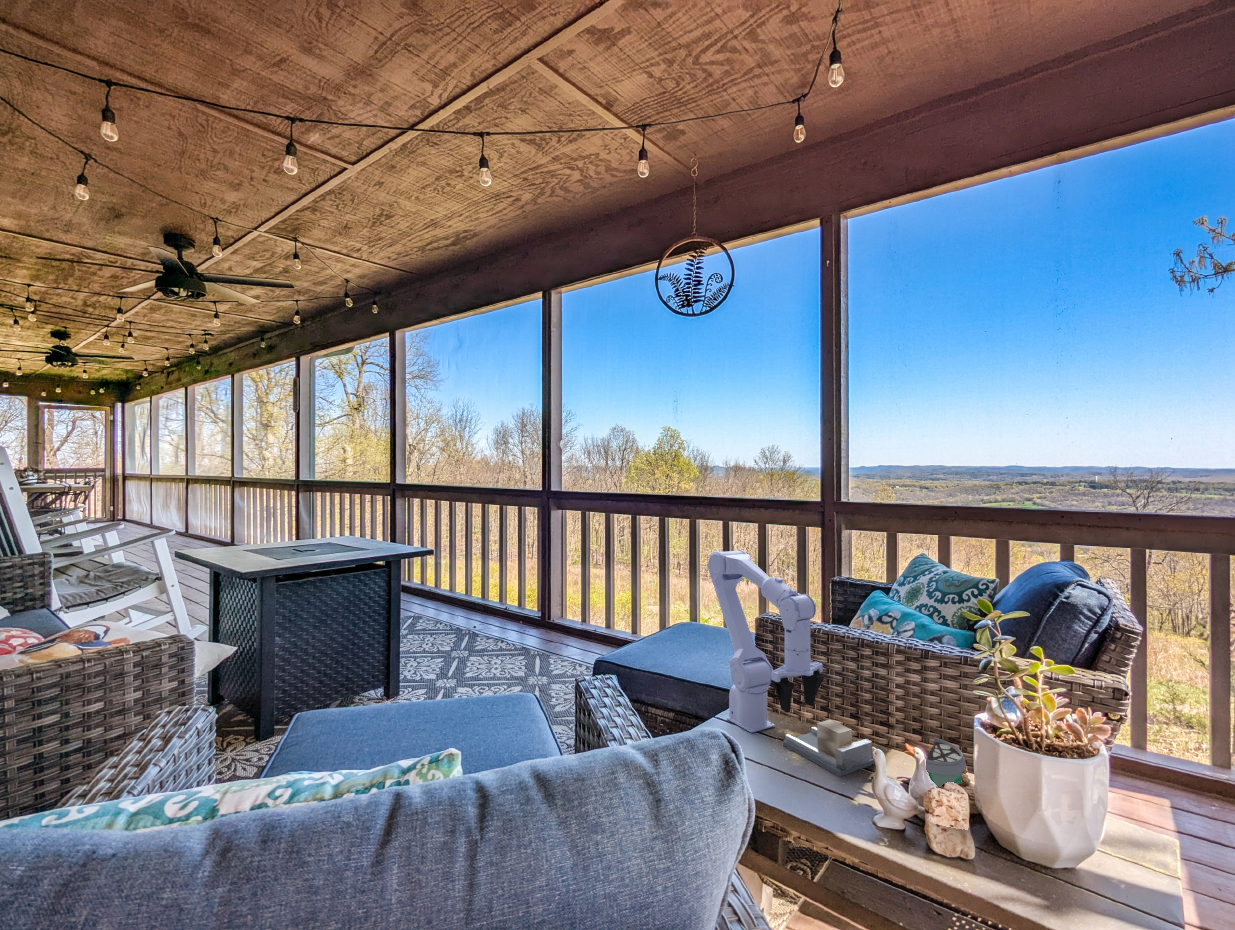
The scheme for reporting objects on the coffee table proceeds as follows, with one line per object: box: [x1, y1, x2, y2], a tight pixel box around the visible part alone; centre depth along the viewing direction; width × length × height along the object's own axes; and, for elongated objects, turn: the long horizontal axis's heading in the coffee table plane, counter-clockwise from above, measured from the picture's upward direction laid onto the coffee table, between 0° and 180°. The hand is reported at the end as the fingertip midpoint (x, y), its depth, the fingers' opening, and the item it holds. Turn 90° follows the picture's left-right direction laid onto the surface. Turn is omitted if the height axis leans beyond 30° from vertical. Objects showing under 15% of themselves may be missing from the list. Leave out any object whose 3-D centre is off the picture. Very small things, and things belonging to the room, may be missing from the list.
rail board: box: [782, 726, 875, 777], centre depth 128 cm, size 16×11×5 cm
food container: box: [925, 737, 967, 787], centre depth 108 cm, size 12×6×10 cm, turn 143°
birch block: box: [816, 719, 853, 759], centre depth 127 cm, size 6×4×6 cm, turn 29°
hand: (797, 707), depth 131 cm, fingers open, 7 cm apart
